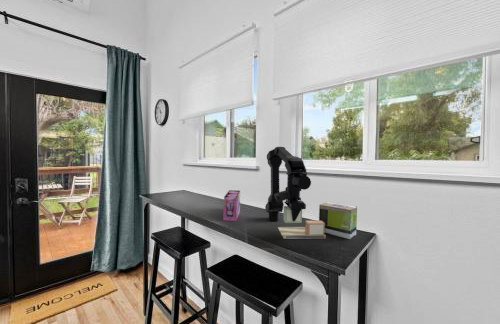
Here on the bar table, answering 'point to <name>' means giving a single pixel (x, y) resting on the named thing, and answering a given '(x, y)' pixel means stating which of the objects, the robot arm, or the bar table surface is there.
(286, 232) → the shelf board
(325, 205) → the tea box
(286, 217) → the sage carton
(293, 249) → the bar table surface
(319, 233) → the pink box
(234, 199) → the gum box
